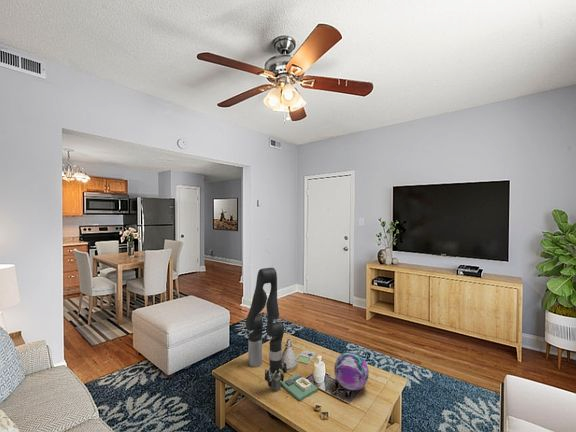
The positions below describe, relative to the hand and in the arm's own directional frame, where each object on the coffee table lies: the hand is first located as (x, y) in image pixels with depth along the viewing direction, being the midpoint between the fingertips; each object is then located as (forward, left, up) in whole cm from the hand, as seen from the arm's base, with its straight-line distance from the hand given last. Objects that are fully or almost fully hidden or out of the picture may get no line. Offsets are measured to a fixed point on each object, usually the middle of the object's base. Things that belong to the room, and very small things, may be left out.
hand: (276, 383), depth 161 cm
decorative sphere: (+27, +36, -3) cm, 45 cm away
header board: (+8, +11, -3) cm, 14 cm away
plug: (0, 0, -3) cm, 3 cm away
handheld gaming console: (-14, +36, -4) cm, 39 cm away
